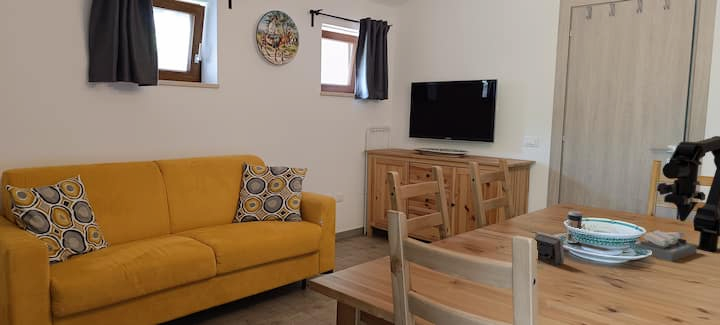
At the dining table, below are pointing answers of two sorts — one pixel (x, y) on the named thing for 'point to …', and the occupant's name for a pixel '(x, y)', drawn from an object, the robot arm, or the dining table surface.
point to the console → (669, 249)
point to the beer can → (573, 223)
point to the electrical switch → (549, 248)
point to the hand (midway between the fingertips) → (682, 221)
